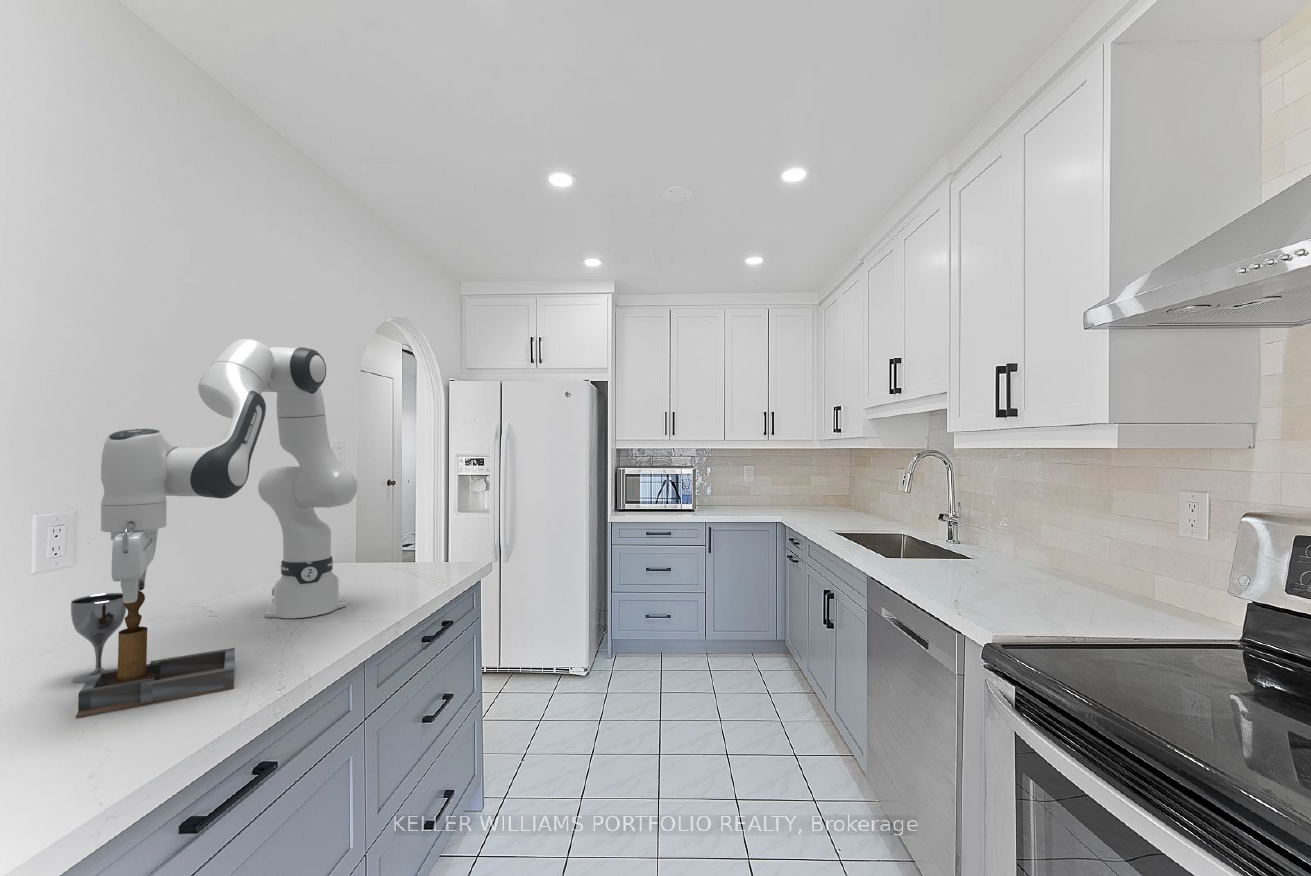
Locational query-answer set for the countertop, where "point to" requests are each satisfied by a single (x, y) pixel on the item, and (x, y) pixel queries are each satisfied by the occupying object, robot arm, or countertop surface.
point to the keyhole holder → (159, 683)
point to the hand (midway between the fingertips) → (134, 595)
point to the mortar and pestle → (132, 647)
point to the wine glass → (97, 623)
